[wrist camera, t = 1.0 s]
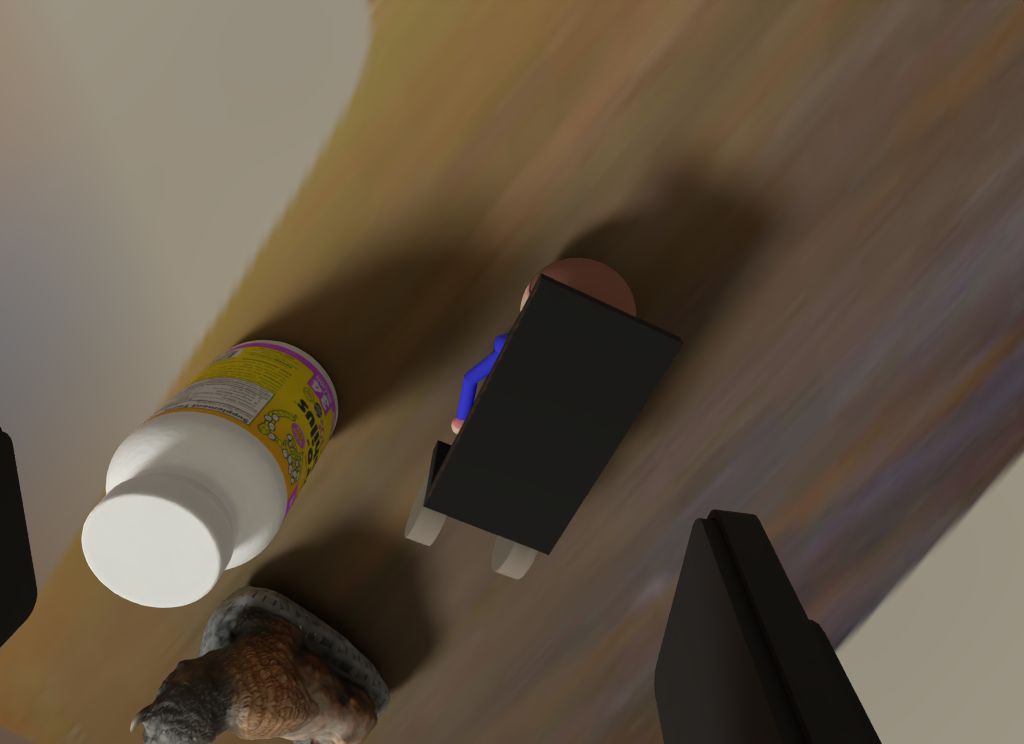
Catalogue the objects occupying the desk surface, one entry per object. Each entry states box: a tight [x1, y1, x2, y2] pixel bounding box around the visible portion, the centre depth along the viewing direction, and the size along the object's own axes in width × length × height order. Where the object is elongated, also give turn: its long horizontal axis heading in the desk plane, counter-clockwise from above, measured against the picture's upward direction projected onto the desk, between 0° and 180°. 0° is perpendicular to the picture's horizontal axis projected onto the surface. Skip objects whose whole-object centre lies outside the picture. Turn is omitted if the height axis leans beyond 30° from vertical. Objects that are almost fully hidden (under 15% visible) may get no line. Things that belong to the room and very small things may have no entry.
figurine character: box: [405, 258, 683, 579], centre depth 32 cm, size 7×8×15 cm
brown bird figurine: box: [130, 586, 390, 744], centre depth 37 cm, size 12×7×10 cm, turn 42°
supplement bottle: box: [82, 340, 338, 608], centre depth 30 cm, size 7×7×13 cm
